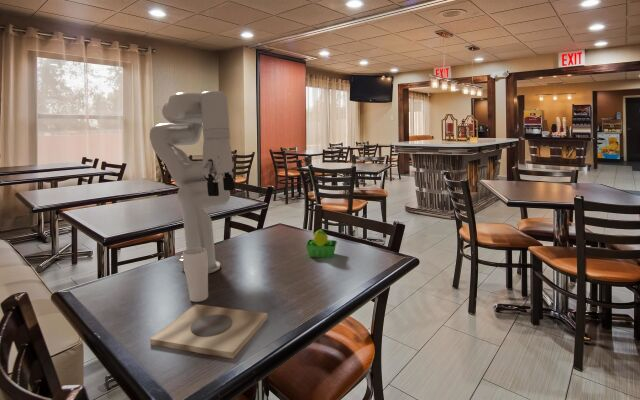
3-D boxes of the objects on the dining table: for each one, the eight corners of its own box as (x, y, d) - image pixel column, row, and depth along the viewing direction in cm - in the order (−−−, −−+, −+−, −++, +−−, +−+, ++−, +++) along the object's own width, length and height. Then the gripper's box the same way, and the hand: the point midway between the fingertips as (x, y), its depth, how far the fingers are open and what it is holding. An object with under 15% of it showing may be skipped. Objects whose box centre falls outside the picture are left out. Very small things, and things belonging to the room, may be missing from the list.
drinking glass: (190, 294, 116) (185, 247, 113) (213, 293, 117) (208, 246, 114) (184, 304, 109) (179, 255, 107) (208, 303, 110) (204, 254, 107)
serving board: (150, 344, 90) (149, 337, 89) (195, 309, 107) (195, 303, 106) (233, 358, 83) (232, 351, 83) (267, 318, 100) (267, 312, 100)
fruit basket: (337, 252, 150) (337, 225, 148) (334, 260, 142) (333, 231, 139) (309, 251, 152) (308, 224, 150) (304, 259, 144) (303, 230, 142)
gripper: (219, 134, 120) (223, 188, 123) (188, 136, 103) (194, 198, 106) (241, 134, 118) (245, 188, 121) (214, 135, 101) (219, 198, 105)
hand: (221, 192), depth 114 cm, fingers open, 9 cm apart
